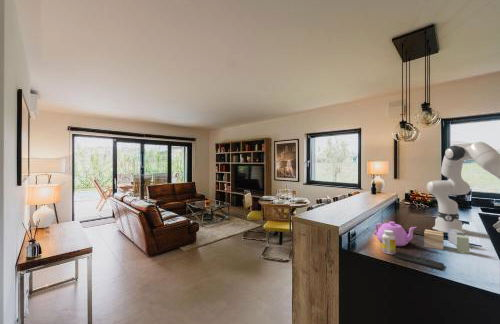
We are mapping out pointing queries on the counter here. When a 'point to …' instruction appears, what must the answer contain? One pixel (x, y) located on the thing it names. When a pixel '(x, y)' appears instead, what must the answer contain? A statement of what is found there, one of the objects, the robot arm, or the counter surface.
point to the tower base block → (433, 244)
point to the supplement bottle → (388, 242)
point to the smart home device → (419, 261)
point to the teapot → (395, 233)
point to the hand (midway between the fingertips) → (495, 229)
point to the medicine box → (454, 235)
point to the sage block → (462, 244)
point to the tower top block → (433, 236)
